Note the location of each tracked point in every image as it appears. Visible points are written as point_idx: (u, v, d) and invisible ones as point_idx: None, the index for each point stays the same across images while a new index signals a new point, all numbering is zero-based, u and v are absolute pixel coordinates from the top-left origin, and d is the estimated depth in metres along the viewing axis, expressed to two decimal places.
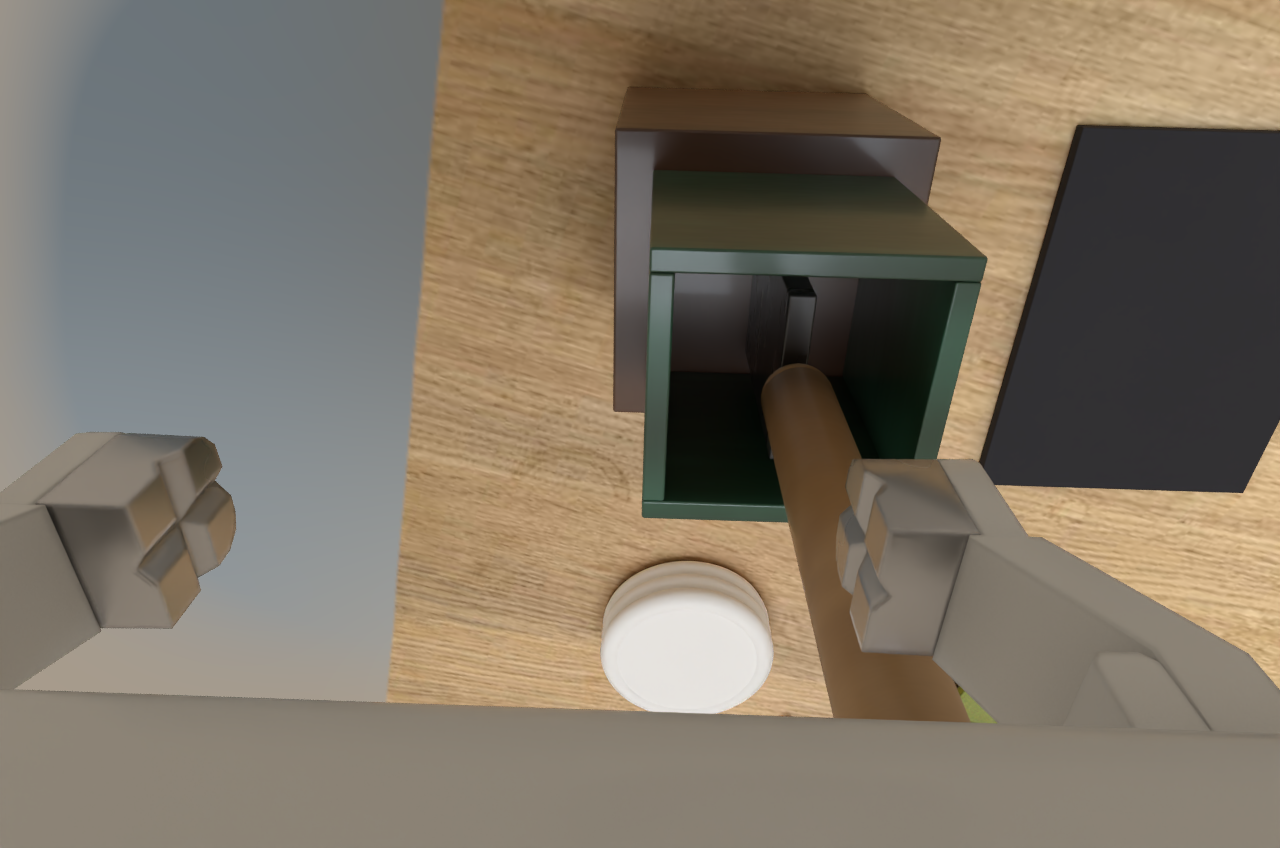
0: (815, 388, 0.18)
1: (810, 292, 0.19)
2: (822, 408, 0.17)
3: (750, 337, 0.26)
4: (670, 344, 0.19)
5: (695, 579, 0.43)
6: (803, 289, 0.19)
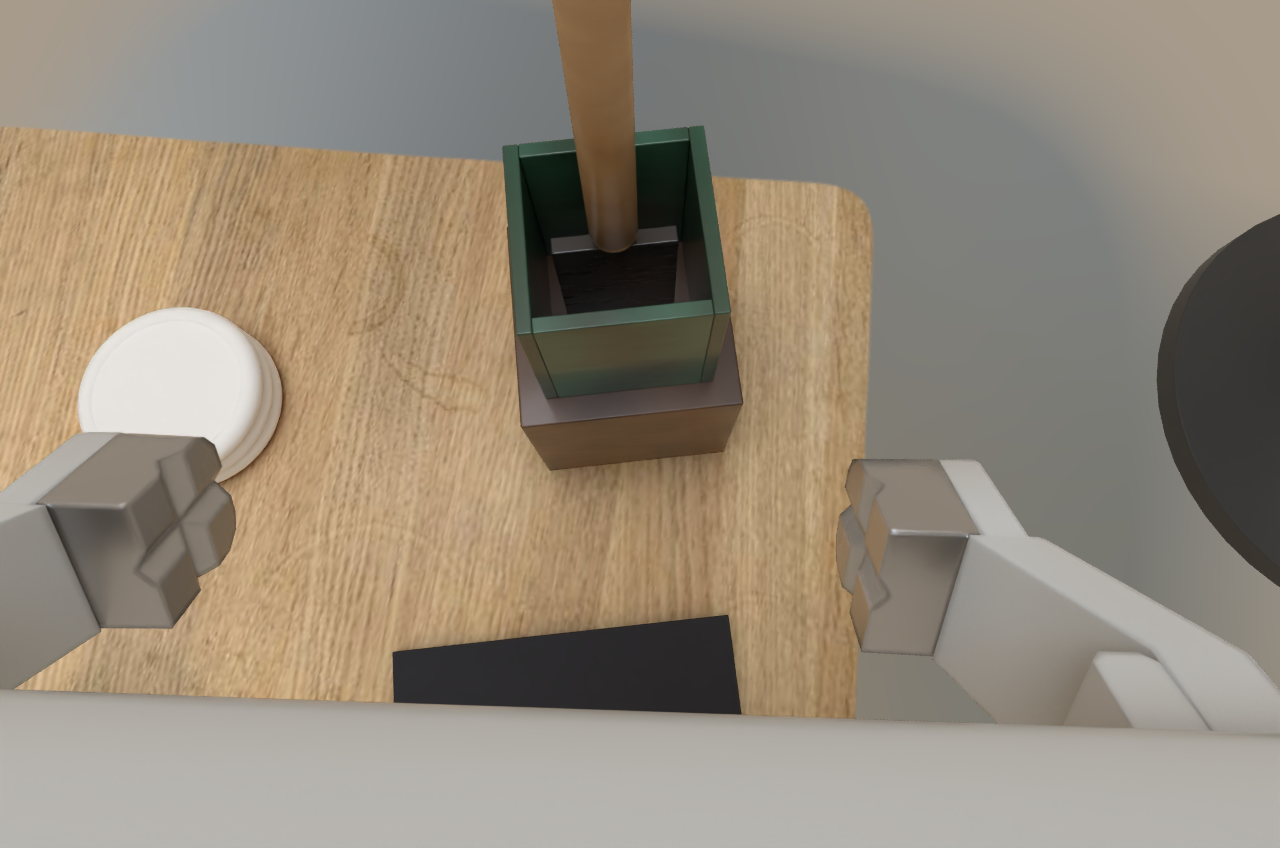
0: (636, 214, 0.27)
1: None
2: (636, 198, 0.26)
3: None
4: (642, 144, 0.29)
5: (269, 392, 0.44)
6: None
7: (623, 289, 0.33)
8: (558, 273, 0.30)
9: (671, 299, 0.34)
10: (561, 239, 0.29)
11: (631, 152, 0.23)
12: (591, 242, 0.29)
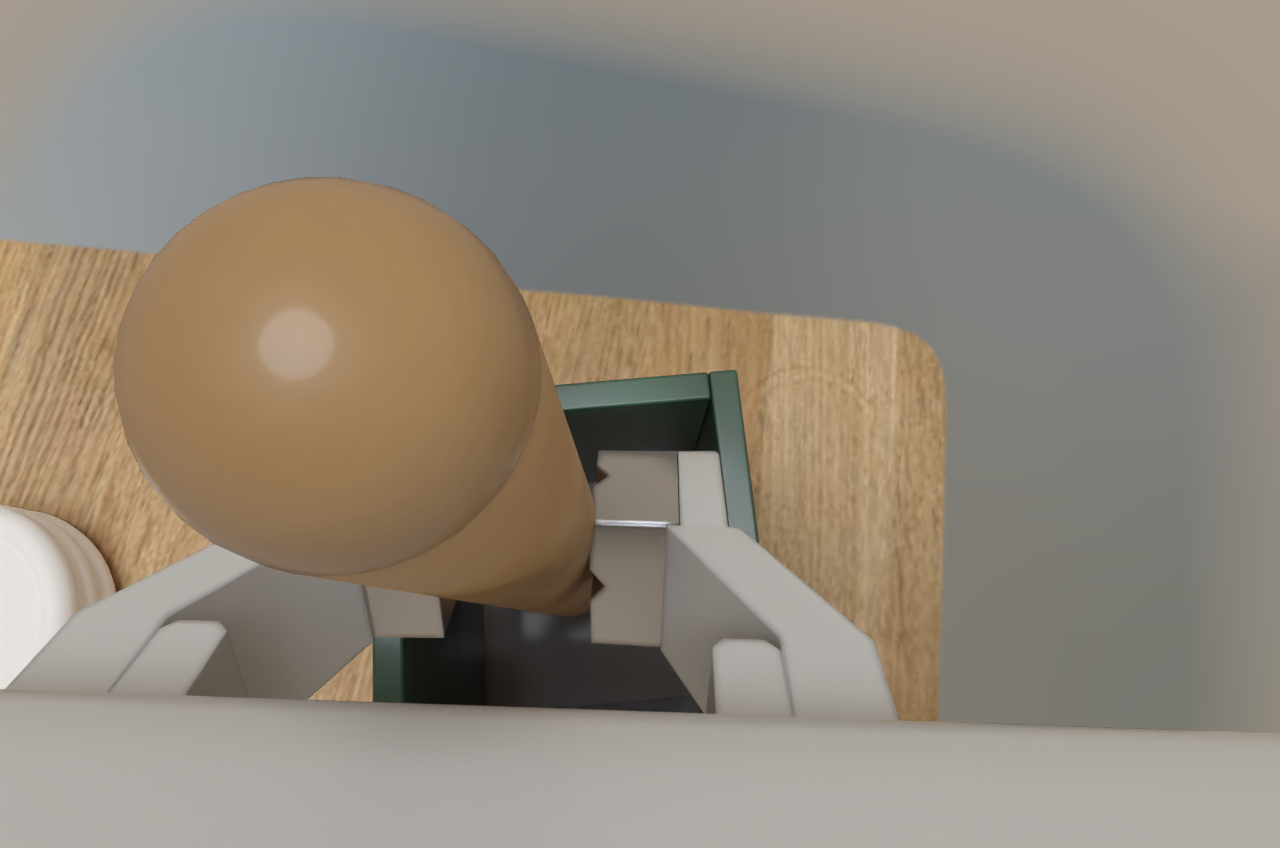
0: None
1: None
2: None
3: None
4: (626, 404, 0.16)
5: None
6: None
7: None
8: None
9: None
10: None
11: None
12: None
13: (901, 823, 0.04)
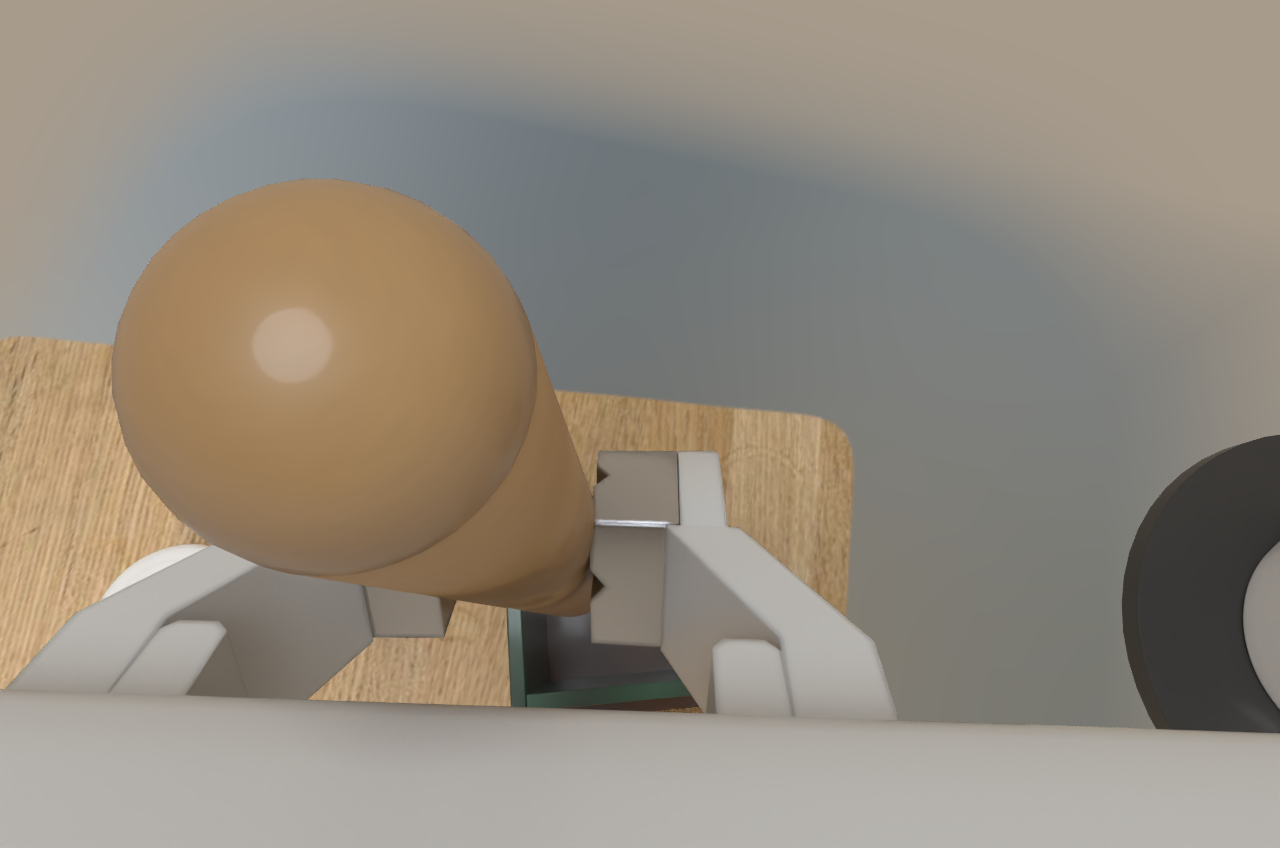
0: None
1: None
2: None
3: None
4: None
5: None
6: None
7: None
8: None
9: None
10: None
11: None
12: None
13: (901, 823, 0.04)
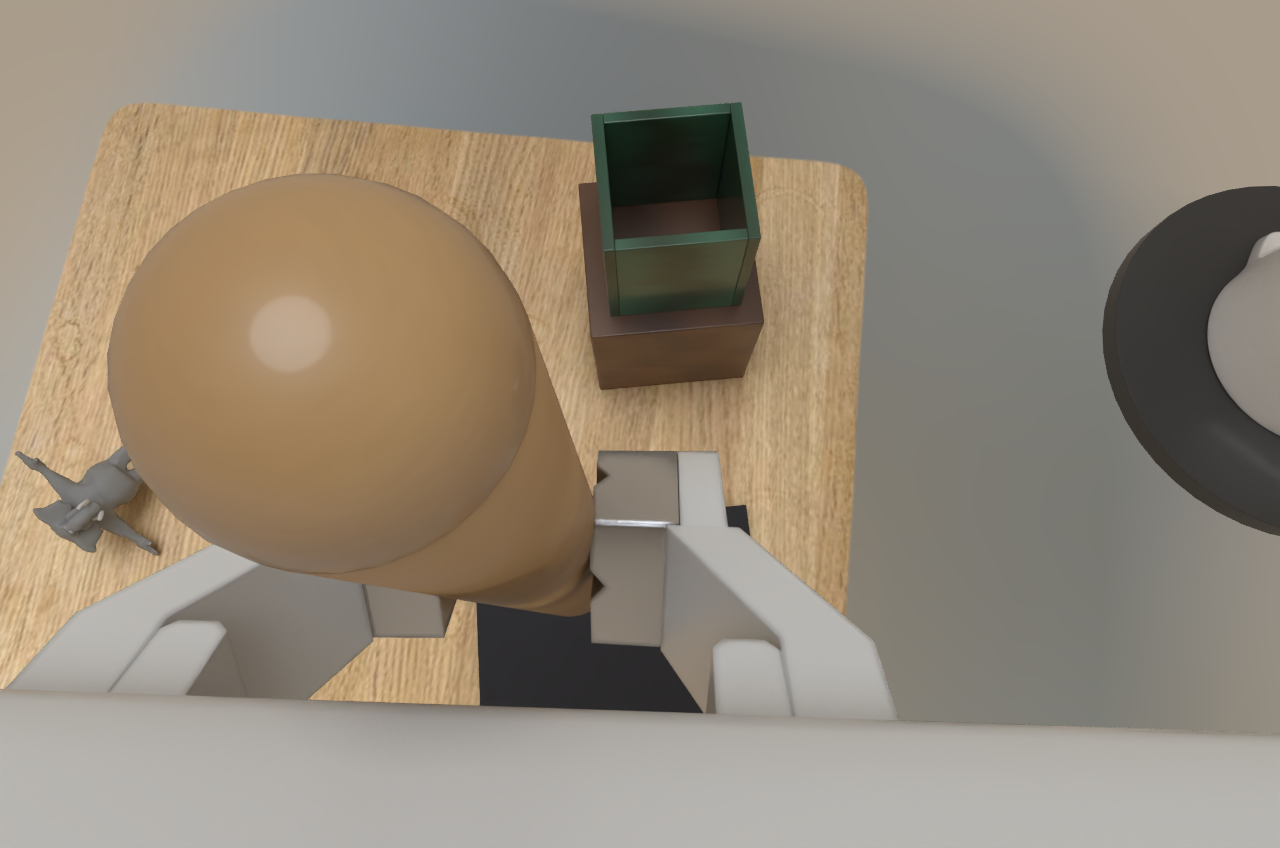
0: None
1: None
2: None
3: None
4: (695, 115, 0.39)
5: None
6: None
7: None
8: None
9: None
10: None
11: None
12: None
13: (901, 823, 0.04)
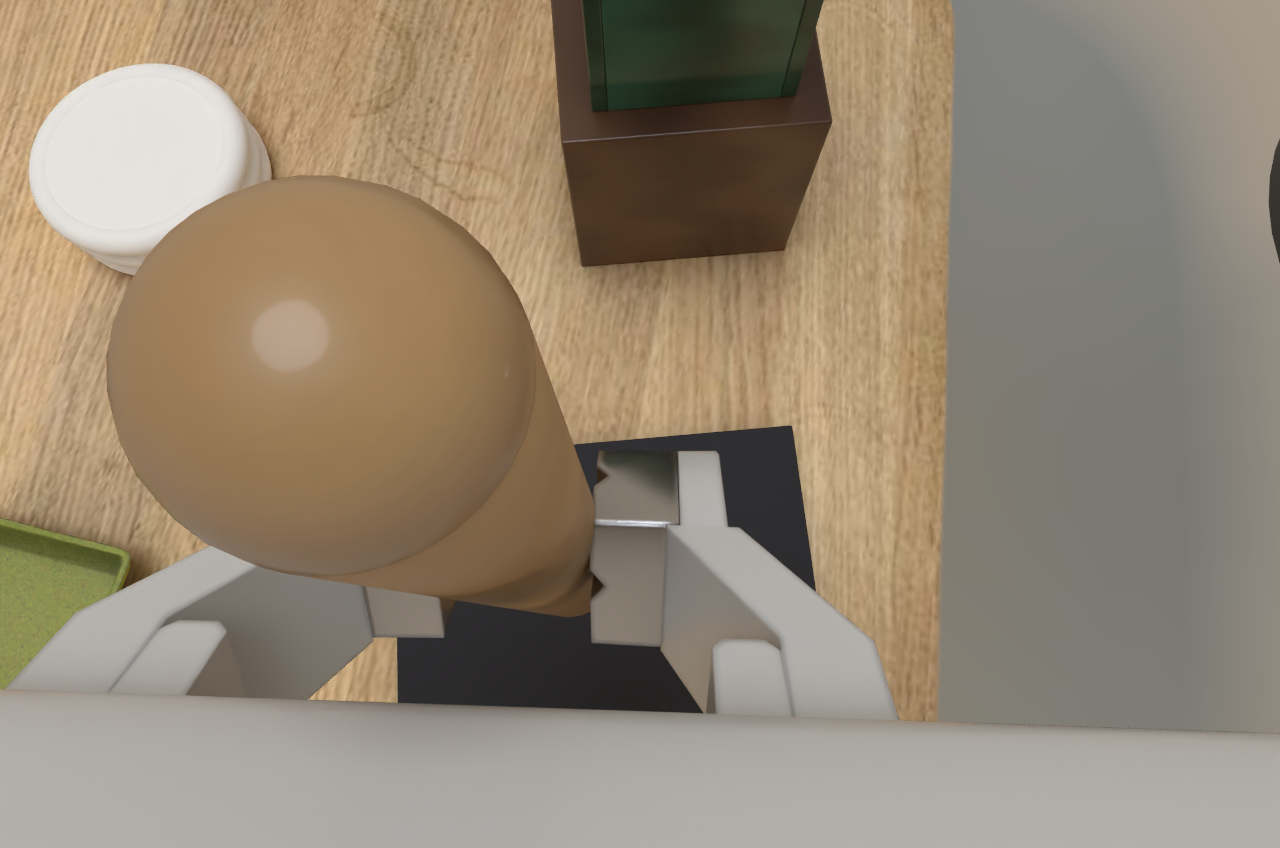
0: None
1: None
2: None
3: None
4: None
5: (256, 165, 0.37)
6: None
7: None
8: None
9: None
10: None
11: None
12: None
13: (900, 823, 0.04)
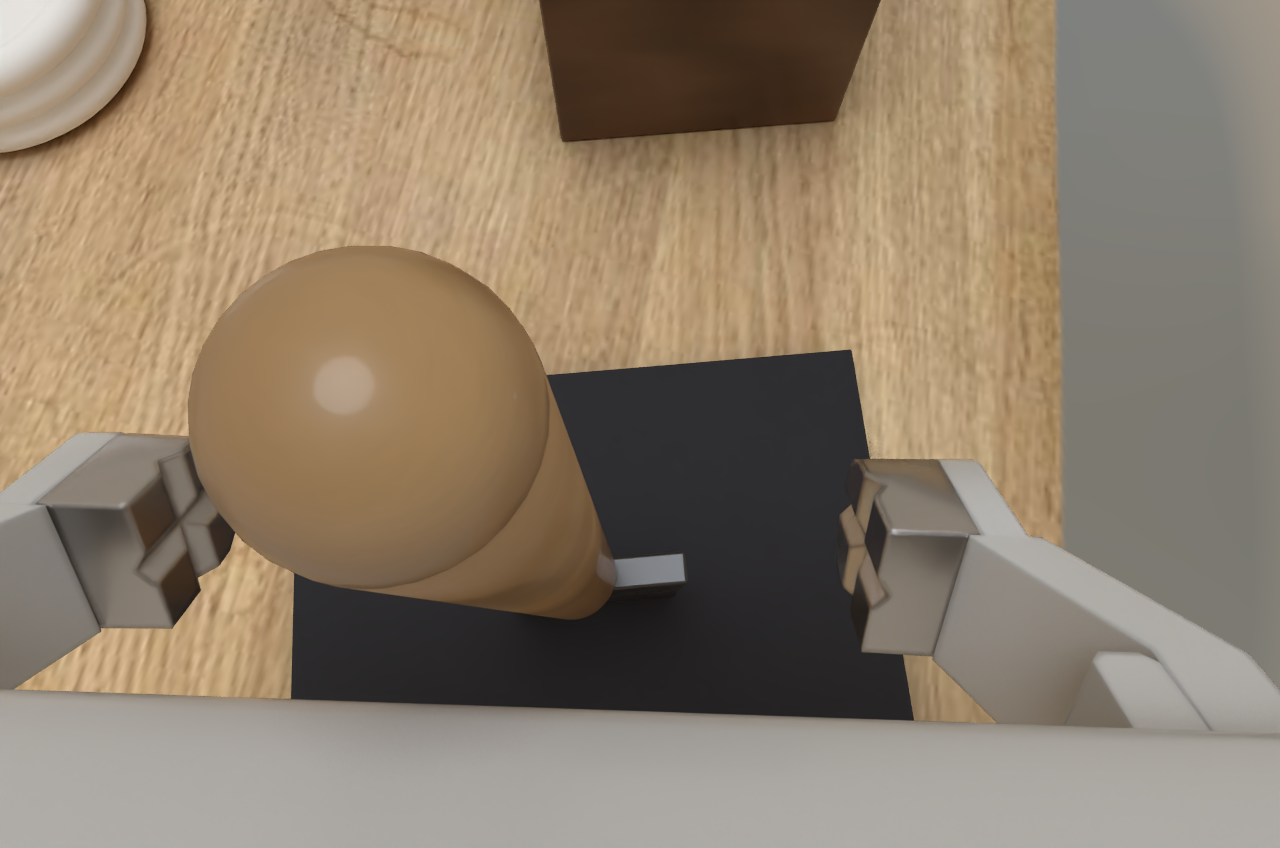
0: (613, 574, 0.15)
1: (686, 577, 0.17)
2: (612, 569, 0.14)
3: None
4: None
5: (118, 0, 0.27)
6: (685, 570, 0.17)
7: None
8: None
9: (671, 595, 0.22)
10: None
11: (595, 579, 0.11)
12: None
13: (901, 823, 0.04)
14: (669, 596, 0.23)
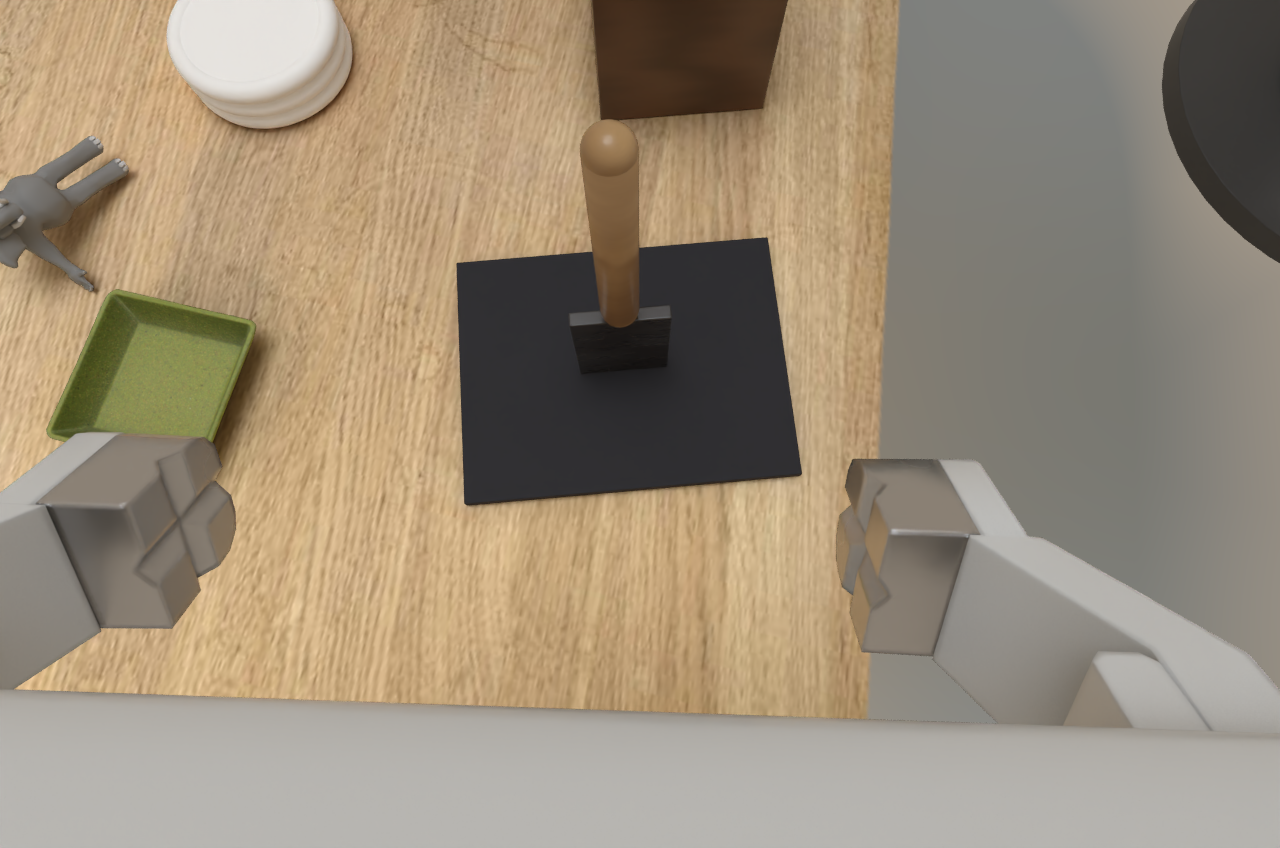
0: None
1: (671, 316, 0.36)
2: None
3: None
4: None
5: (343, 38, 0.47)
6: (671, 315, 0.37)
7: (626, 350, 0.40)
8: (574, 339, 0.38)
9: (665, 357, 0.41)
10: (577, 314, 0.36)
11: (636, 263, 0.30)
12: (601, 317, 0.36)
13: (901, 823, 0.04)
14: (664, 362, 0.42)
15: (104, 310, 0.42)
